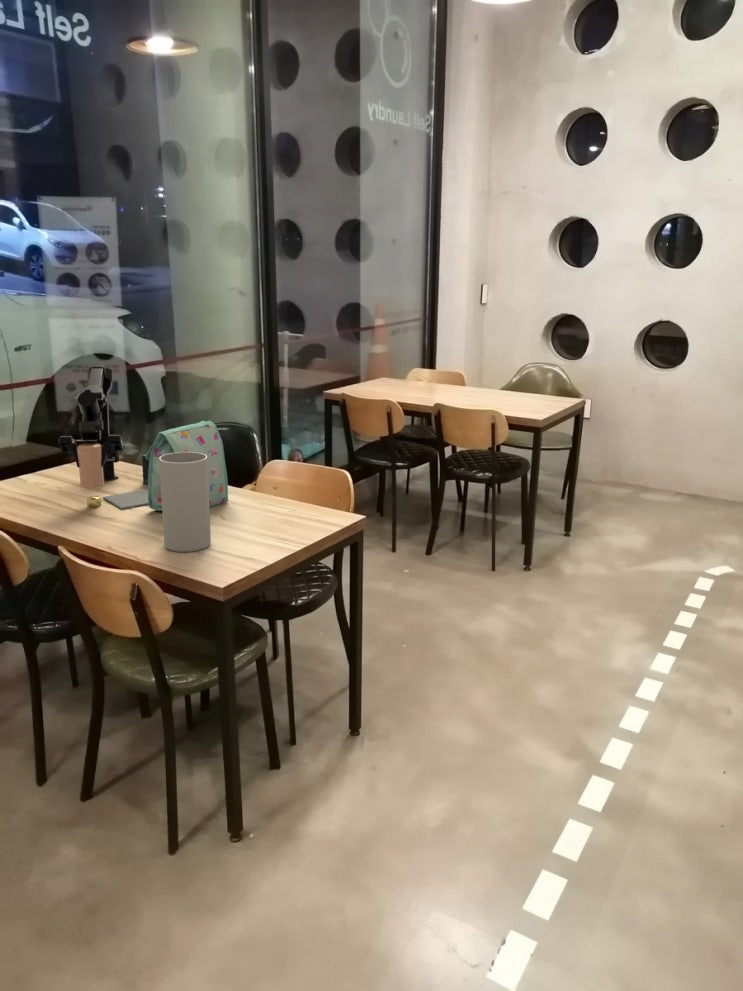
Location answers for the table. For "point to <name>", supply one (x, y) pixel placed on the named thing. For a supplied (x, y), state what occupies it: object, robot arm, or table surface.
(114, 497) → the slate mat
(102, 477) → the terracotta cup
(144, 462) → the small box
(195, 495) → the cylinder vase
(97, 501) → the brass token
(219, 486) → the lunch bag
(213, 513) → the table surface
